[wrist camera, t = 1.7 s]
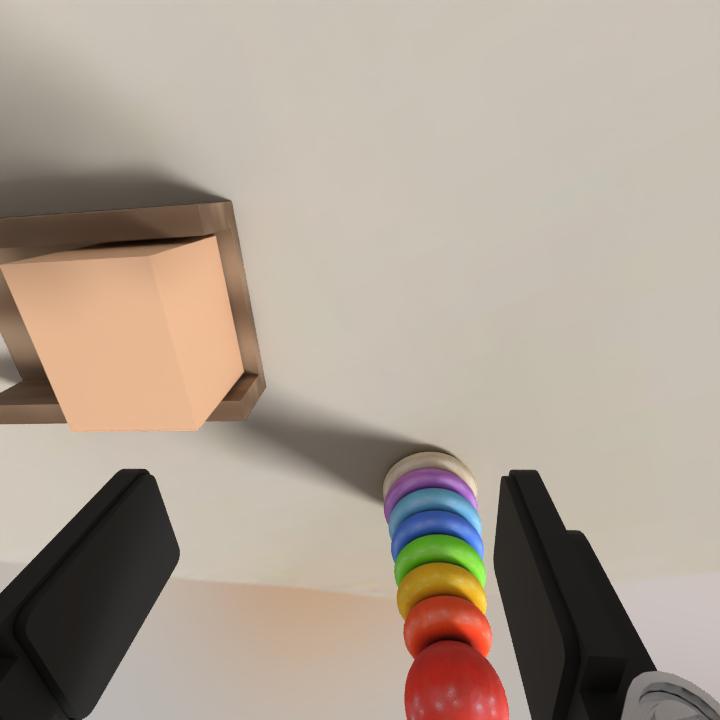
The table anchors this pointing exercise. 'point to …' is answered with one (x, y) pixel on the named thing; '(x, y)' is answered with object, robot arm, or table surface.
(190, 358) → the block
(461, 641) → the stacking toy
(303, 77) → the table surface
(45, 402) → the chute
